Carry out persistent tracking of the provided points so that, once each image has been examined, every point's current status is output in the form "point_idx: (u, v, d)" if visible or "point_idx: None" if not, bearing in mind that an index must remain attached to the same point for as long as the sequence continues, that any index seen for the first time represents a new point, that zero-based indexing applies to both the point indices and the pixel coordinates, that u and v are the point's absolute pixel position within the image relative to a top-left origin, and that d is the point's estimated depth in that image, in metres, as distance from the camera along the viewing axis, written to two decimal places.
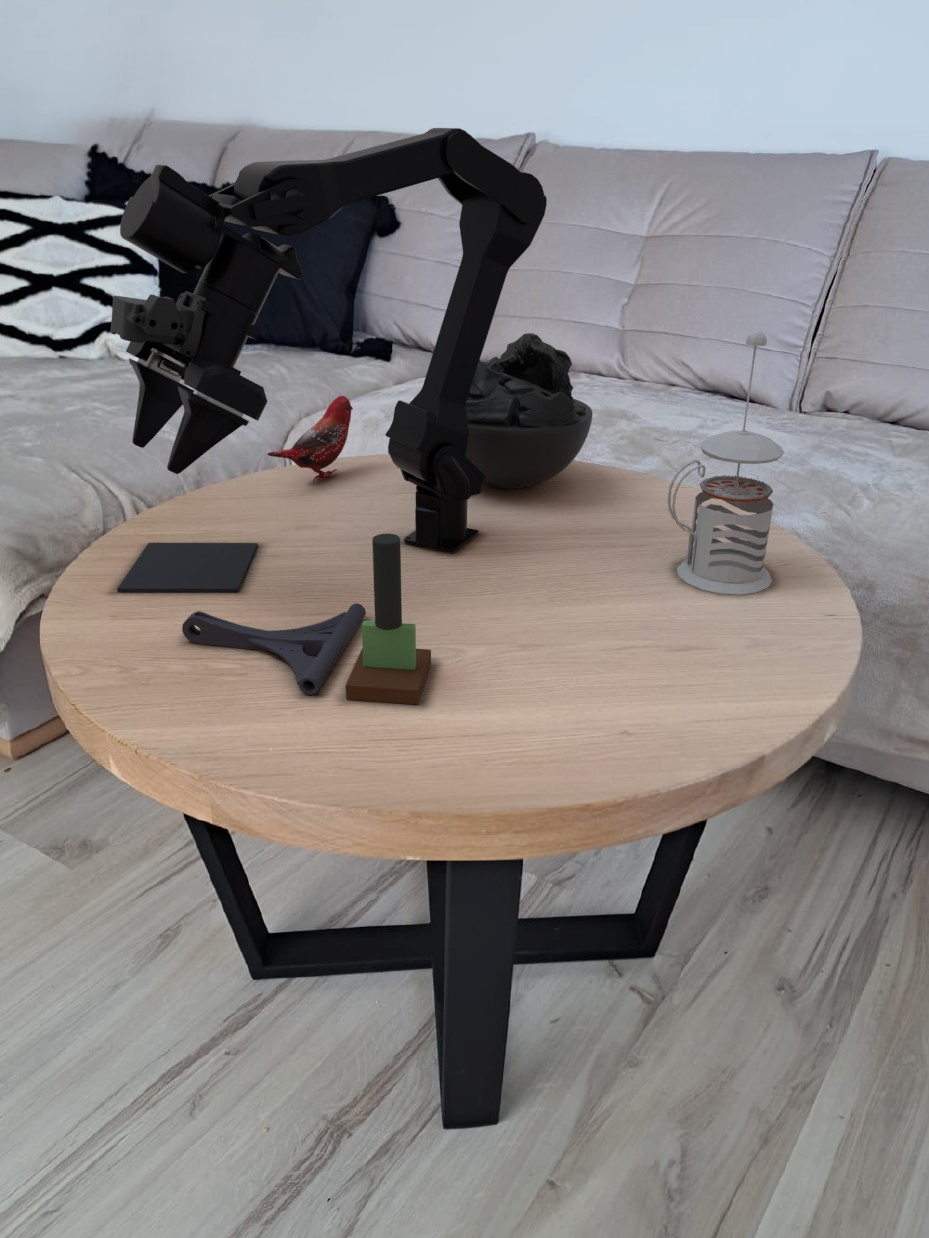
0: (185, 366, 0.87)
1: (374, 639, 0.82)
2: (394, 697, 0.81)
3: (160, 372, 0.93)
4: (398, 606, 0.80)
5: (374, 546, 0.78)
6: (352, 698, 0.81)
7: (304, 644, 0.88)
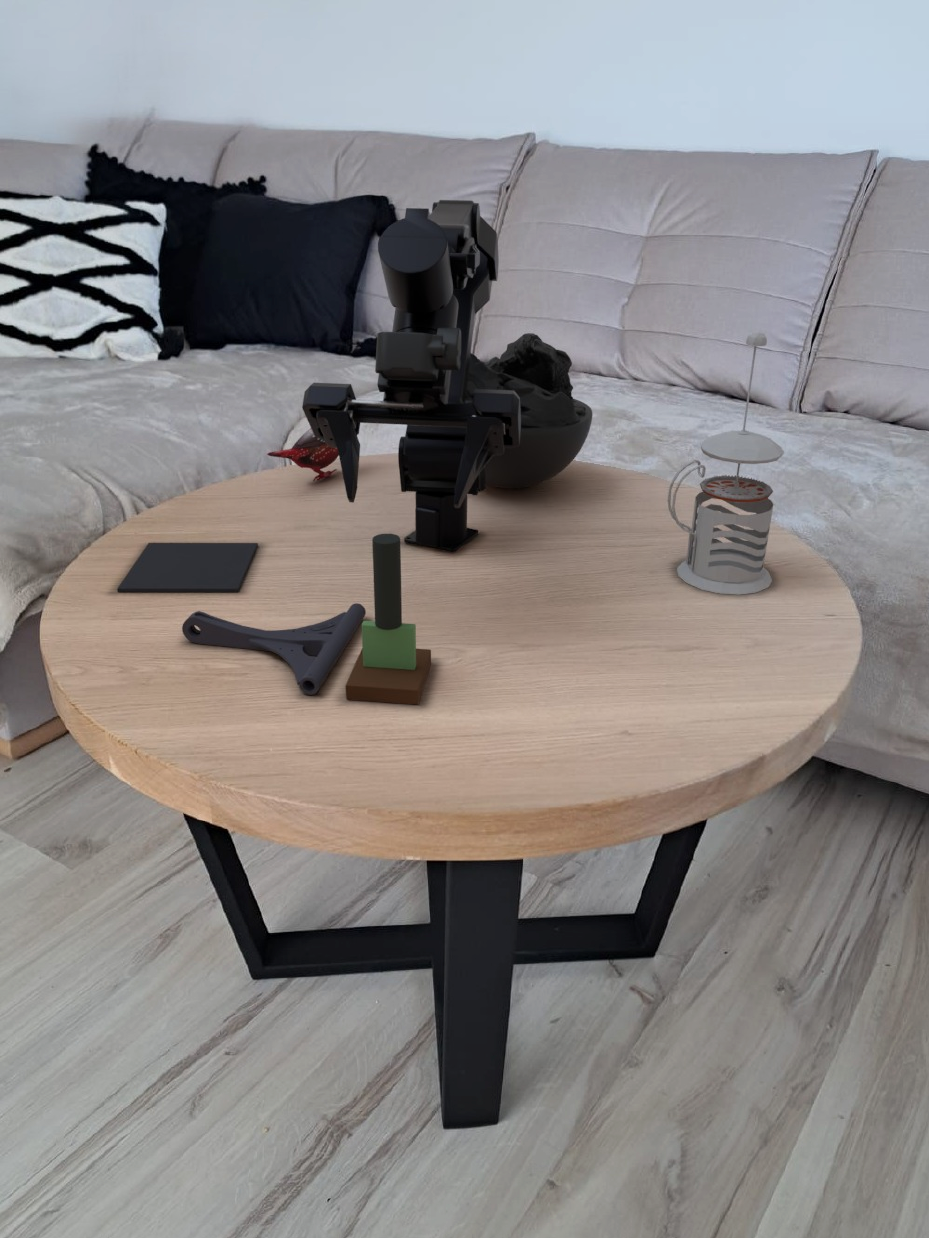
0: (423, 406, 0.86)
1: (374, 639, 0.82)
2: (394, 697, 0.81)
3: None
4: (398, 606, 0.80)
5: (374, 546, 0.78)
6: (352, 698, 0.81)
7: (304, 644, 0.88)
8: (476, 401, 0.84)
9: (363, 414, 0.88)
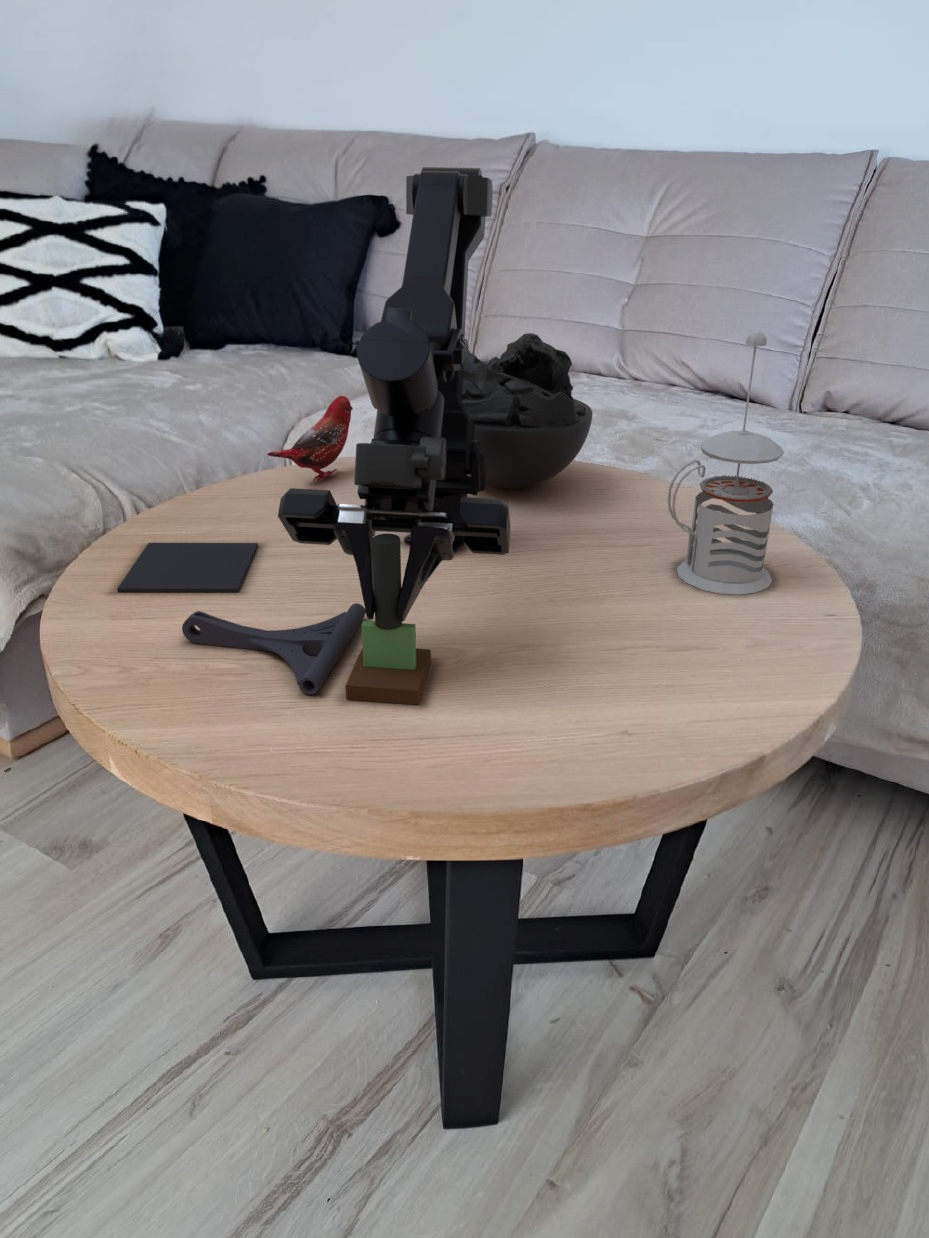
0: (447, 516, 0.81)
1: (374, 639, 0.82)
2: (394, 697, 0.81)
3: None
4: None
5: (374, 546, 0.78)
6: (352, 698, 0.81)
7: (304, 644, 0.88)
8: (462, 512, 0.79)
9: None
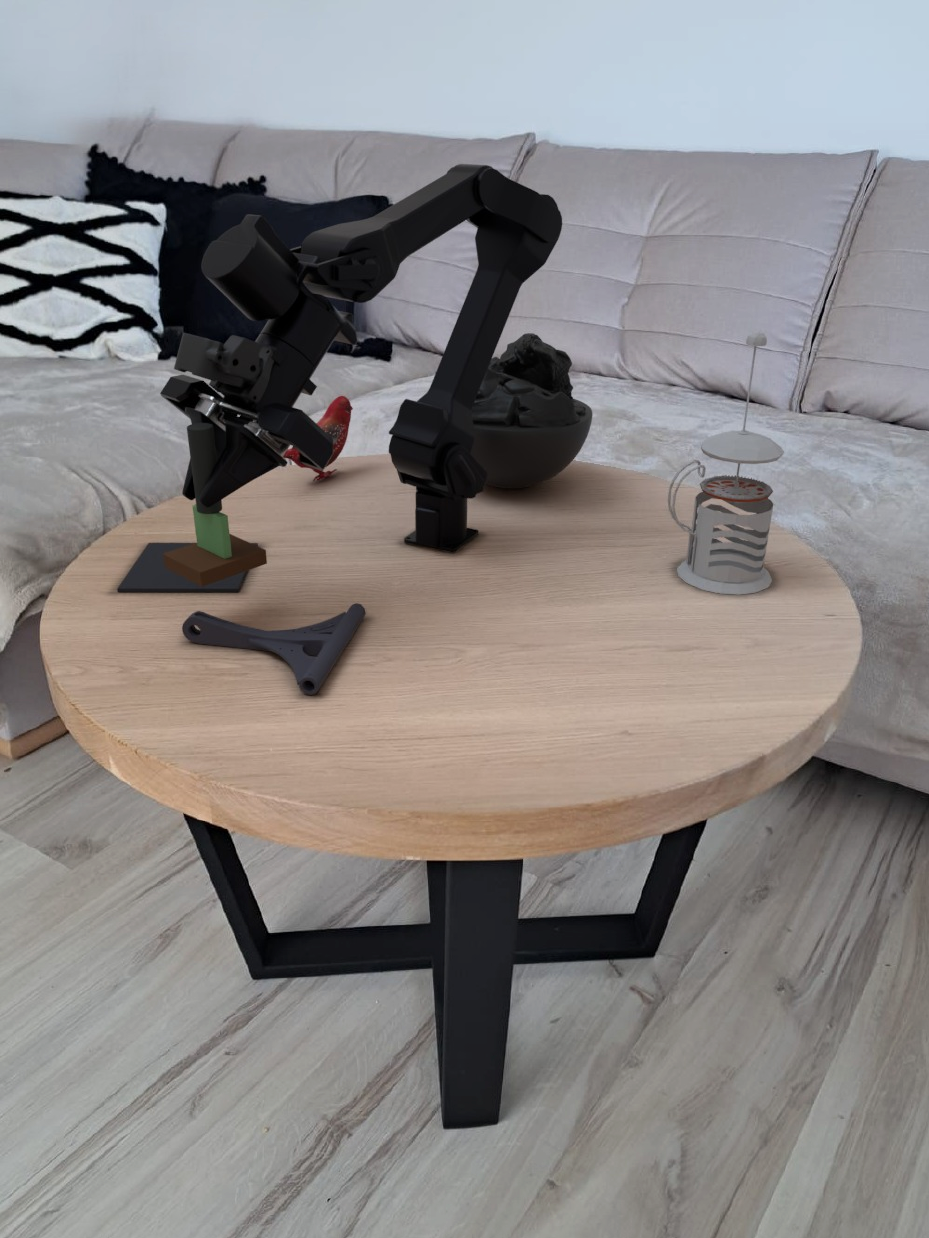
0: None
1: (200, 521, 0.89)
2: (188, 574, 0.88)
3: (218, 425, 0.89)
4: None
5: None
6: (167, 567, 0.90)
7: (304, 644, 0.88)
8: (261, 414, 0.82)
9: None
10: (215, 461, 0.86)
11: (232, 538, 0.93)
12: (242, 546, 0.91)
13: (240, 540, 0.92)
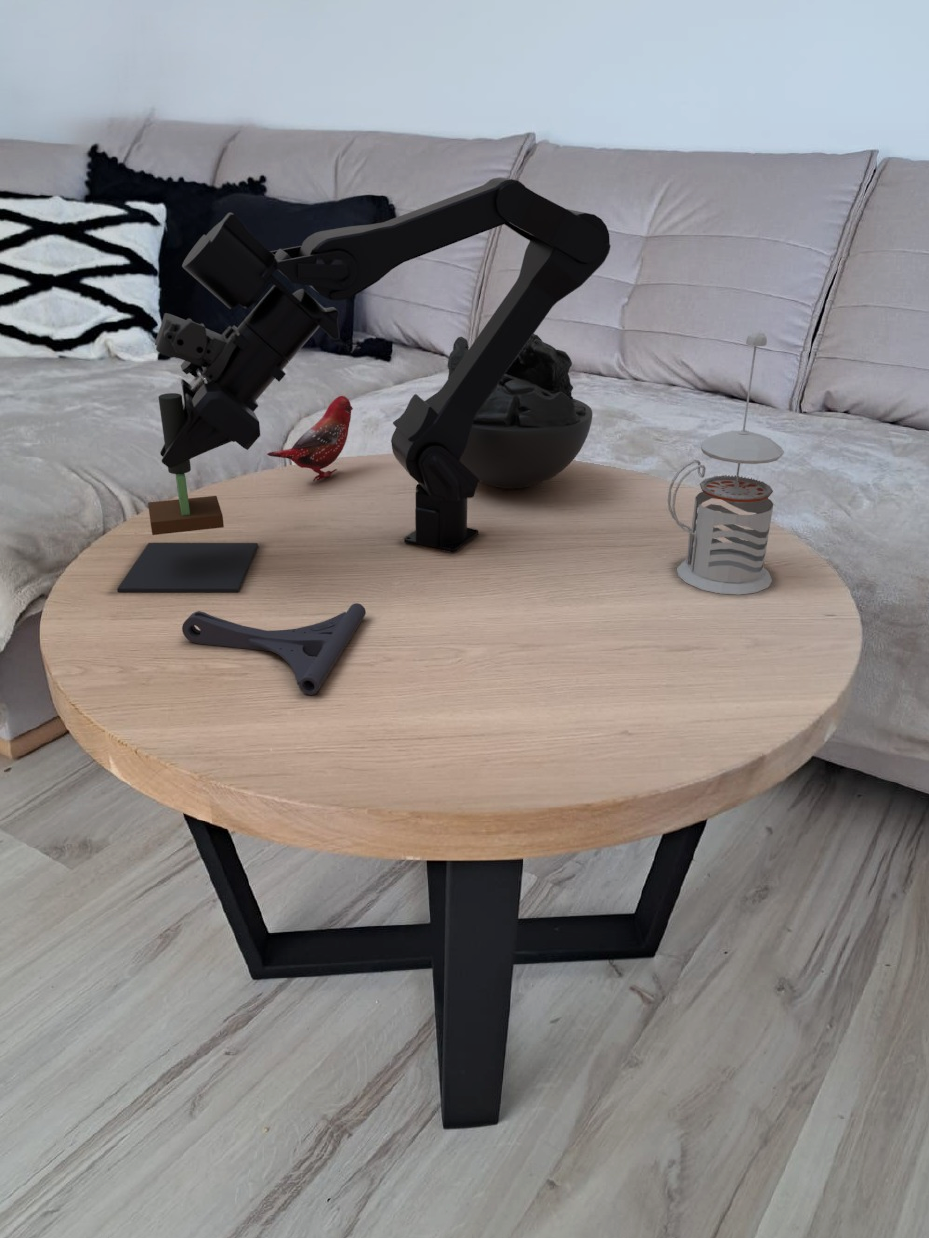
0: None
1: (176, 479, 1.01)
2: None
3: None
4: None
5: None
6: None
7: (304, 644, 0.88)
8: (198, 391, 0.92)
9: None
10: None
11: (212, 500, 1.04)
12: (210, 508, 1.02)
13: (215, 503, 1.03)
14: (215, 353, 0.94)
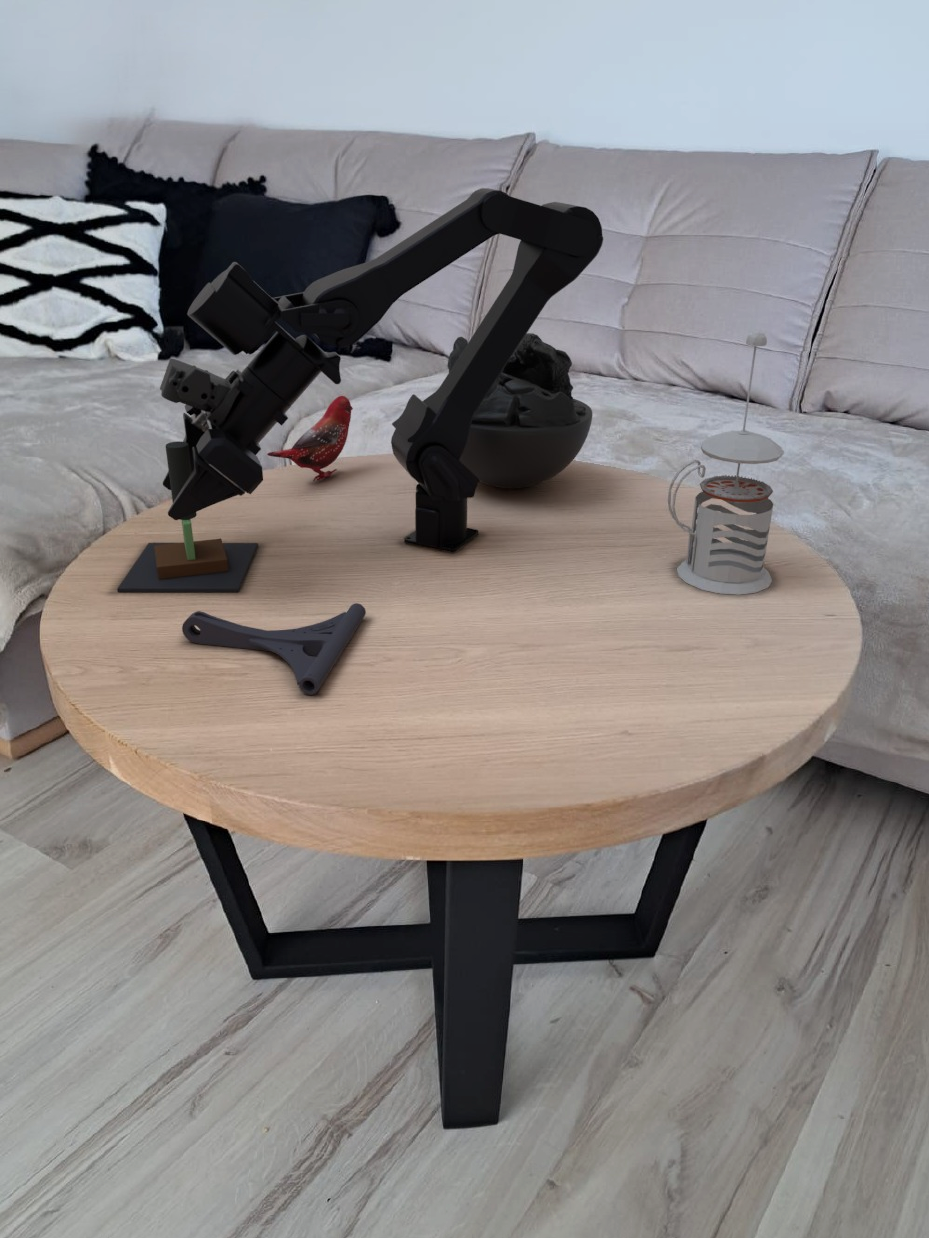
0: None
1: (182, 524, 1.04)
2: None
3: (204, 431, 1.04)
4: None
5: None
6: None
7: (304, 644, 0.88)
8: (202, 436, 0.94)
9: None
10: (186, 476, 0.99)
11: (217, 544, 1.06)
12: (215, 552, 1.04)
13: (220, 547, 1.05)
14: (219, 398, 0.96)
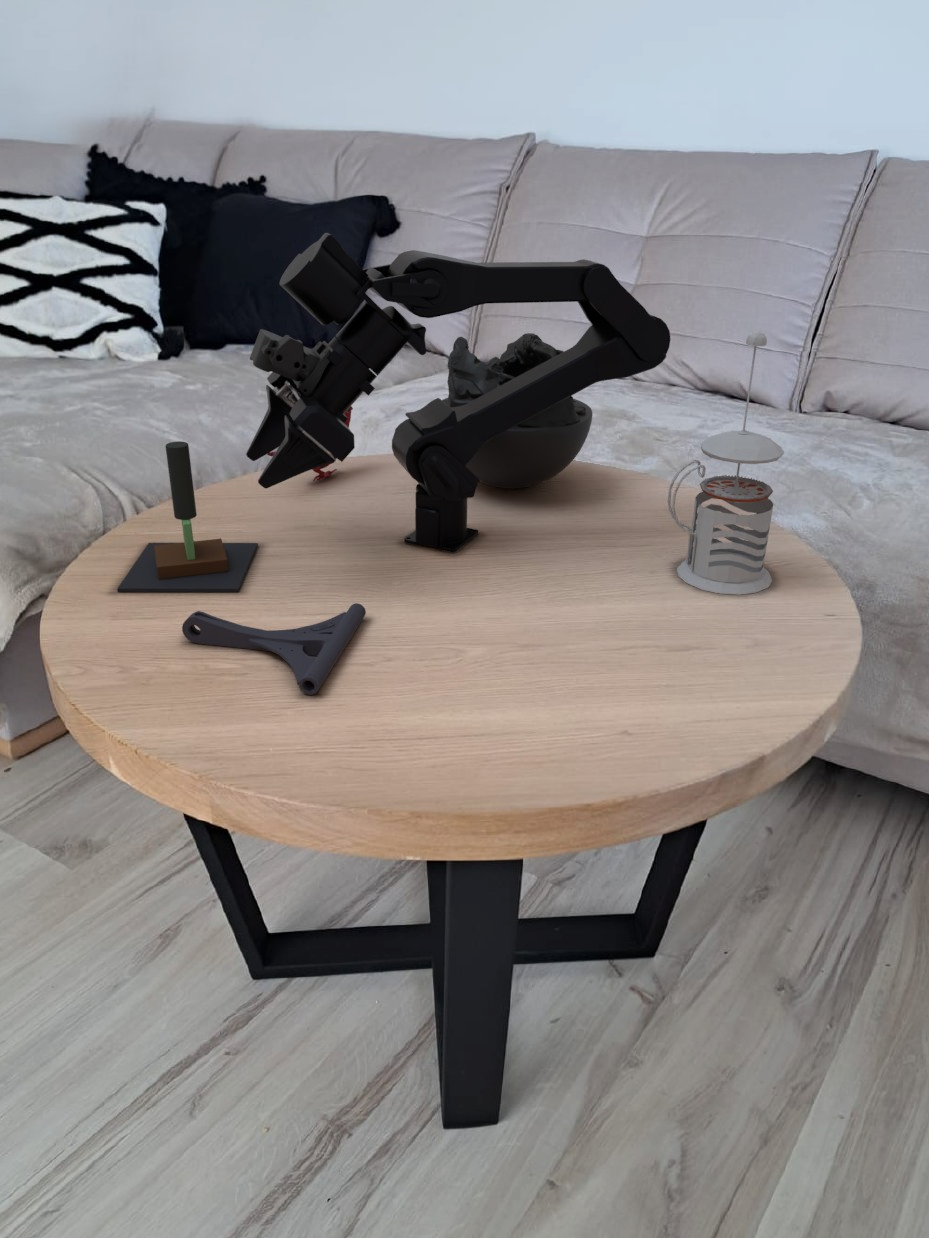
0: None
1: (182, 524, 1.04)
2: None
3: (287, 402, 1.06)
4: (179, 502, 1.00)
5: None
6: None
7: (304, 644, 0.88)
8: (295, 405, 0.95)
9: (296, 398, 1.05)
10: (186, 476, 0.99)
11: (217, 544, 1.06)
12: (215, 552, 1.04)
13: (220, 547, 1.05)
14: (309, 368, 0.97)
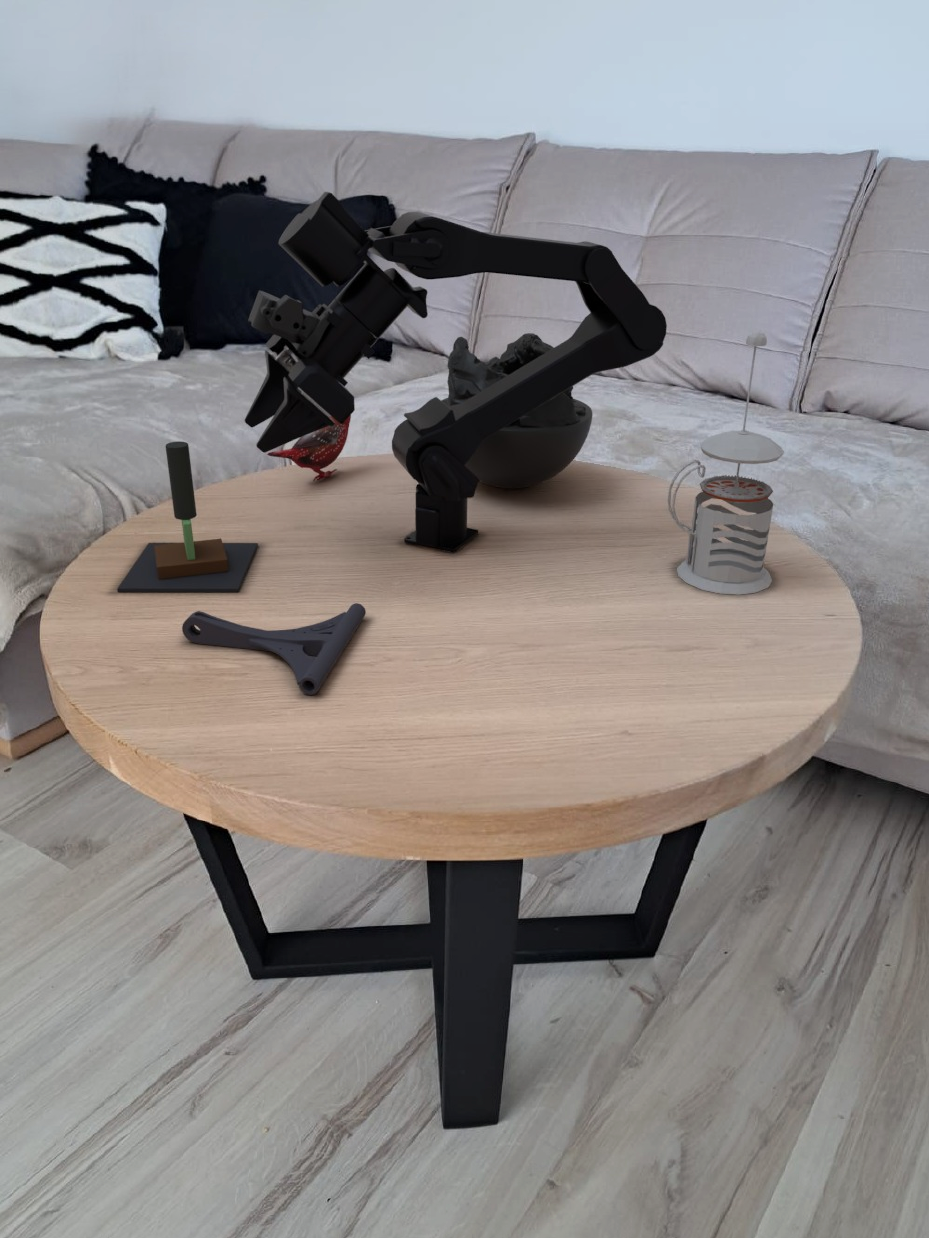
0: None
1: (182, 524, 1.04)
2: None
3: (286, 368, 1.04)
4: (179, 502, 1.00)
5: None
6: None
7: (304, 644, 0.88)
8: (294, 366, 0.93)
9: (296, 363, 1.03)
10: (186, 476, 0.99)
11: (217, 544, 1.06)
12: (215, 552, 1.04)
13: (220, 547, 1.05)
14: (309, 330, 0.96)
